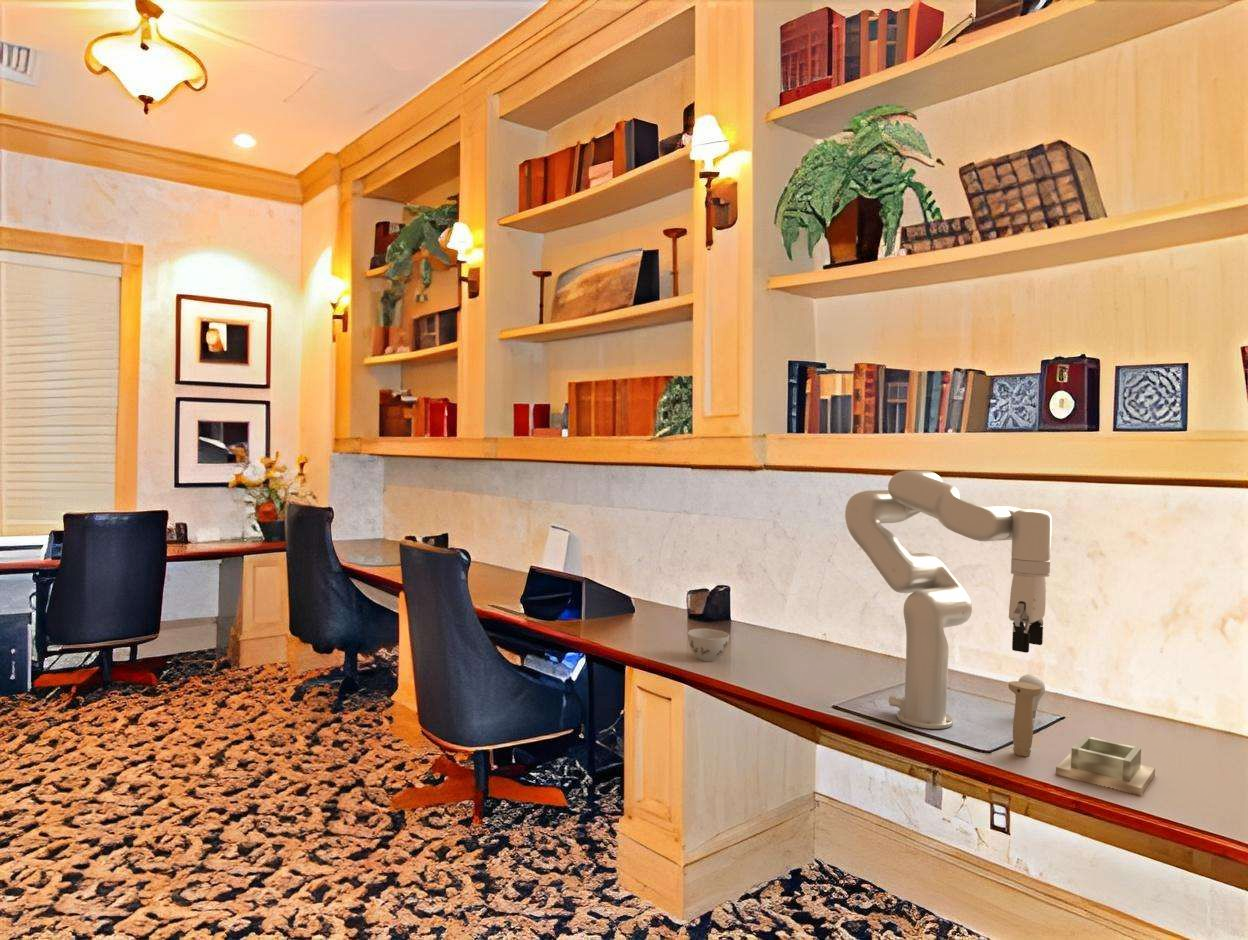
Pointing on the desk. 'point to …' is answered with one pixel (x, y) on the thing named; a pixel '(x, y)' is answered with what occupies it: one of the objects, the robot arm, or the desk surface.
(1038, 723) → the desk surface
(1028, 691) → the handle
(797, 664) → the desk surface
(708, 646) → the teacup
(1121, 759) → the socket block
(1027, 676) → the lightbulb
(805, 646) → the desk surface
